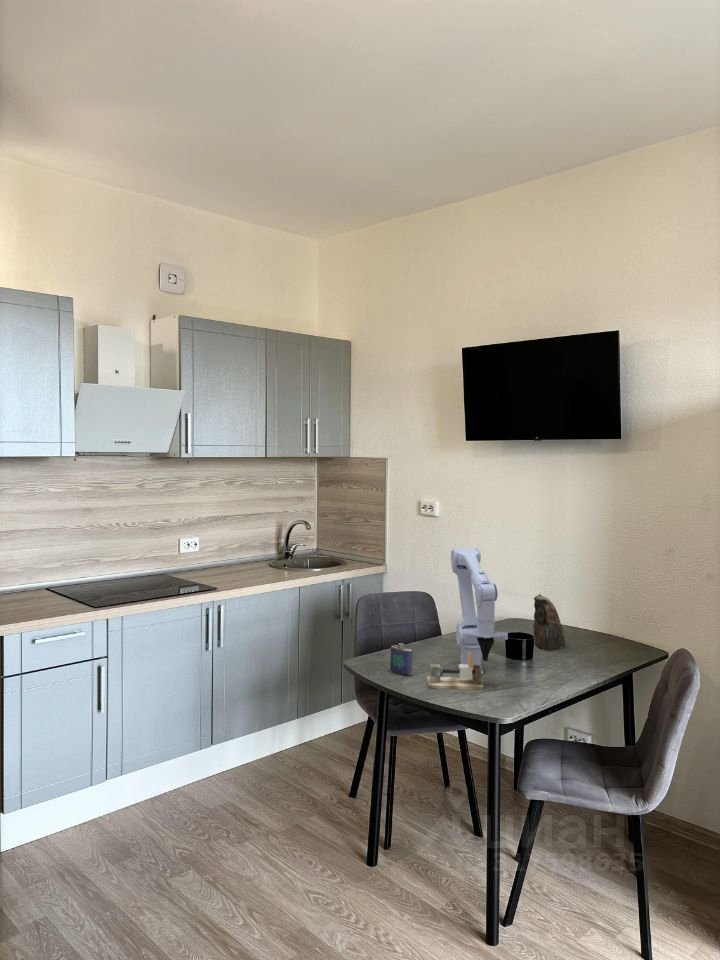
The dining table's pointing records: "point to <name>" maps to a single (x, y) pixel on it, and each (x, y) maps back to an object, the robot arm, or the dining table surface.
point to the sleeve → (466, 669)
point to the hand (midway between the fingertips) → (485, 660)
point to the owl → (547, 625)
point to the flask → (401, 660)
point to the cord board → (454, 679)
